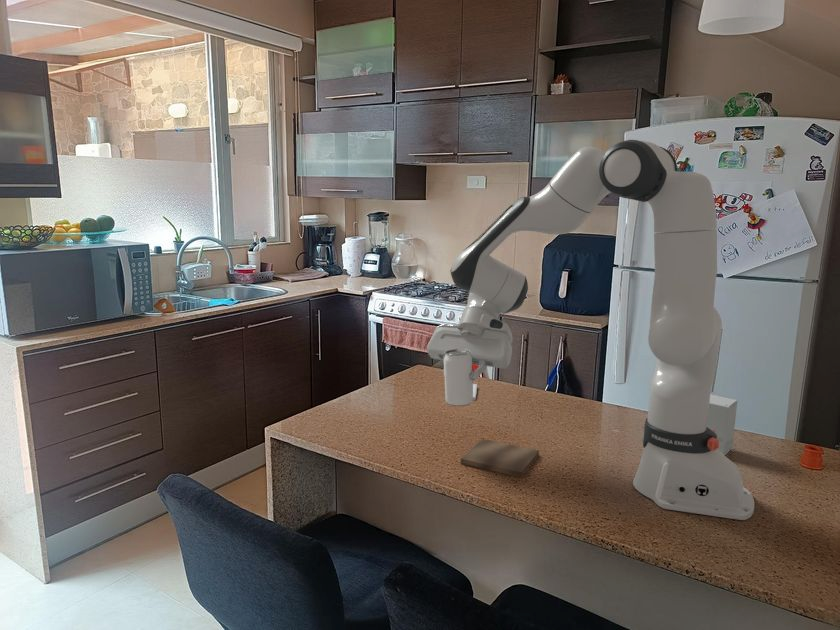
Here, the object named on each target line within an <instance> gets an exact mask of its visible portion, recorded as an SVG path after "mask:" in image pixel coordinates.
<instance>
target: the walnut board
mask: <svg viewBox="0 0 840 630" xmlns="http://www.w3.org/2000/svg"><path fill="white" fill-rule="evenodd" d="M539 455H540V450H537V449H535V448H534V449H533V448H527V447H523V446H519V445H513V444H509V443H505V442H500V441H496V440H492V439H491V440H490V439H487V438H486V439H485V438H482V439H480V440H479V441H478V442H477V443H476V444H475V445H474V446H472V447H471V449H469V451H467V452H466V453H465V454H464V455H463V456H462V457H461V458H460V464H461V465H466V466H469V465H470V466H469V467H473V466H474V468H478V469H483V470H487V471H491V472H495V473H499V474H504V475H509V476H513V477H516V478H522V477H523V476H524V475H525V474H526V472H527V471H528V470H529V468H531V466H532V465H533V464H534V462H535V461H536V459H538V457H539Z"/></svg>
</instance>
